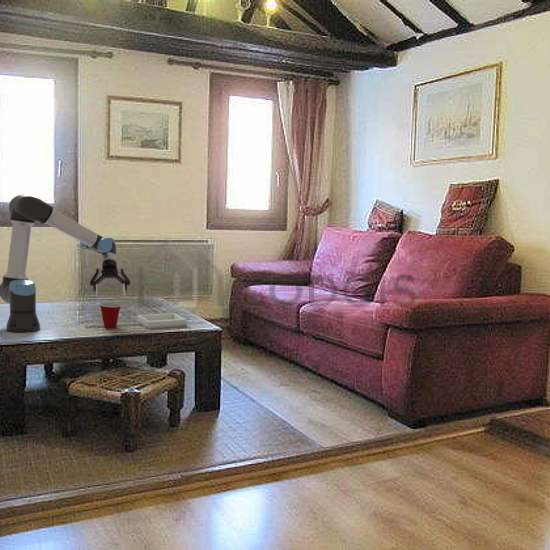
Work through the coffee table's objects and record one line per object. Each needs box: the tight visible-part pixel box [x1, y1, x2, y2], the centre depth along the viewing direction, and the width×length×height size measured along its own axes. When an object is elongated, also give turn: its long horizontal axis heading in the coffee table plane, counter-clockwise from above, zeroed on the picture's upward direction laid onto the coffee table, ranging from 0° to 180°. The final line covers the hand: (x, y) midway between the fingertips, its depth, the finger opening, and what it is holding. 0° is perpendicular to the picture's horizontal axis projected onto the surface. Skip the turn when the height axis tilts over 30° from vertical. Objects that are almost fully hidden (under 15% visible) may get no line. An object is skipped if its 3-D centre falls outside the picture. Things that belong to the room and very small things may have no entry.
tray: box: [137, 312, 188, 330], centre depth 332 cm, size 20×20×4 cm
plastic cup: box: [99, 301, 123, 329], centre depth 321 cm, size 11×11×12 cm
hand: (110, 295), depth 329 cm, fingers open, 13 cm apart
